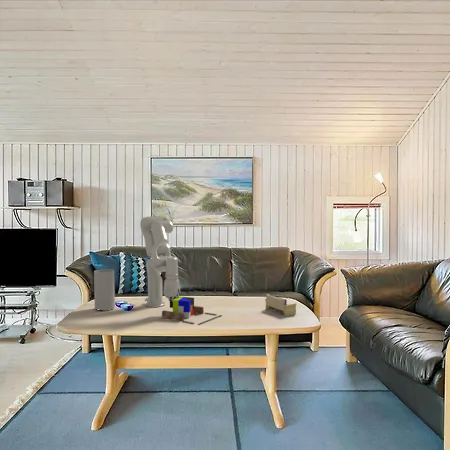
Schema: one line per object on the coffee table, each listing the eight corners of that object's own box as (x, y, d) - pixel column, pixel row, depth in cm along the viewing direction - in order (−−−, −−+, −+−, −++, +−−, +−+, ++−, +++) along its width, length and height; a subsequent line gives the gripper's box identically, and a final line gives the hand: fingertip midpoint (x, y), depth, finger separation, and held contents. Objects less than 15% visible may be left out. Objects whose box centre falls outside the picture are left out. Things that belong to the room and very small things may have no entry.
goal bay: (182, 322, 228) (182, 321, 228) (205, 313, 247) (205, 312, 247) (199, 325, 221) (199, 324, 221) (221, 315, 240) (221, 315, 240)
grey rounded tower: (113, 306, 269) (112, 268, 268) (116, 310, 258) (115, 271, 257) (93, 308, 263) (92, 270, 263) (96, 312, 252) (95, 272, 251)
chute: (162, 317, 237) (161, 311, 237) (184, 310, 255) (184, 304, 255) (181, 321, 229) (181, 314, 229) (203, 313, 247) (203, 306, 246)
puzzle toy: (188, 318, 236) (189, 301, 235) (172, 316, 238) (173, 299, 238) (193, 313, 245) (194, 297, 245) (178, 312, 248) (178, 296, 247)
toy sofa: (296, 314, 243) (296, 297, 243) (285, 316, 238) (285, 299, 238) (275, 307, 261) (275, 291, 261) (264, 309, 256) (264, 293, 256)
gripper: (158, 277, 247) (159, 307, 247) (177, 279, 238) (177, 310, 239) (166, 275, 253) (167, 304, 253) (185, 277, 245) (185, 307, 245)
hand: (172, 307), depth 246 cm, fingers closed
